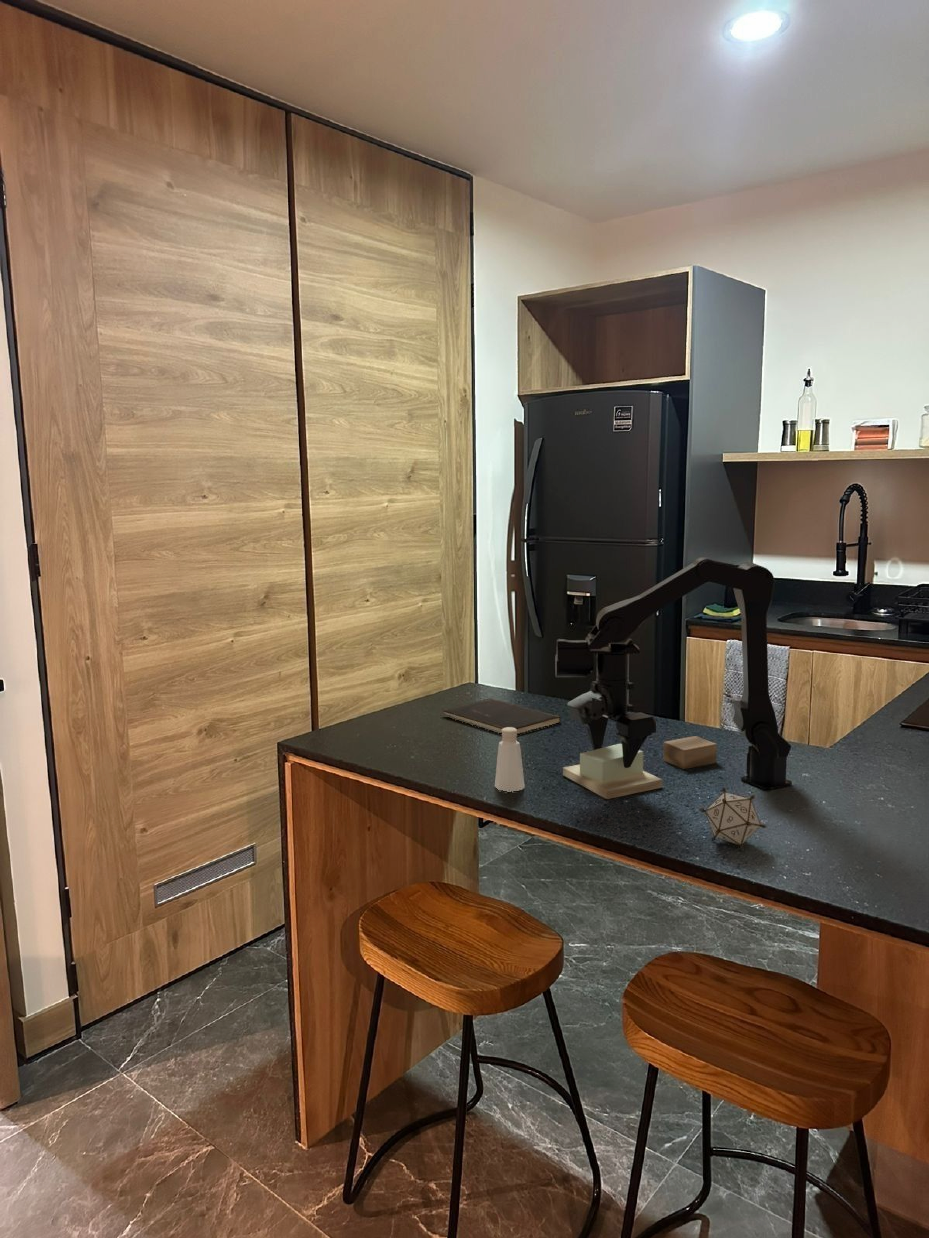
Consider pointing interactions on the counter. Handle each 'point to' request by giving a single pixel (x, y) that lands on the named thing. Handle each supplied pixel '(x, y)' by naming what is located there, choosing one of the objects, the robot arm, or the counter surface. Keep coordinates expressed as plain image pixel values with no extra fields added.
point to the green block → (608, 764)
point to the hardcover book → (502, 715)
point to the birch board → (614, 783)
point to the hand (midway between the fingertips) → (611, 760)
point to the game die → (732, 818)
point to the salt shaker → (509, 762)
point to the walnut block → (690, 752)
